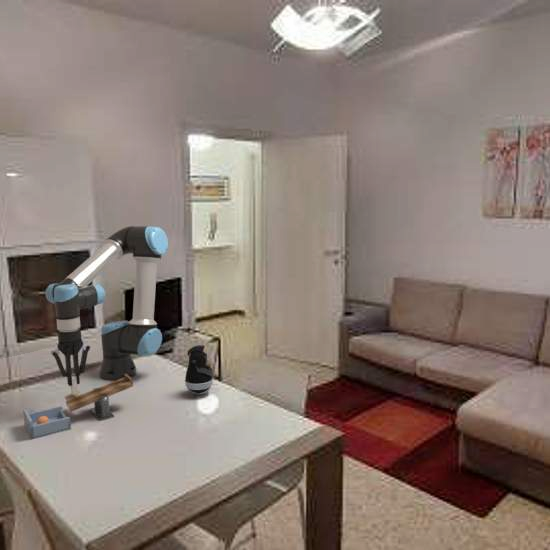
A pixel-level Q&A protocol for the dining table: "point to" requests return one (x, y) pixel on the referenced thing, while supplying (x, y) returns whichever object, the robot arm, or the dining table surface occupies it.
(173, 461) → the dining table surface
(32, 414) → the tray
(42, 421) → the ball
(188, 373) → the toy
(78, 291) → the robot arm
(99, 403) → the stand
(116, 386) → the lever
